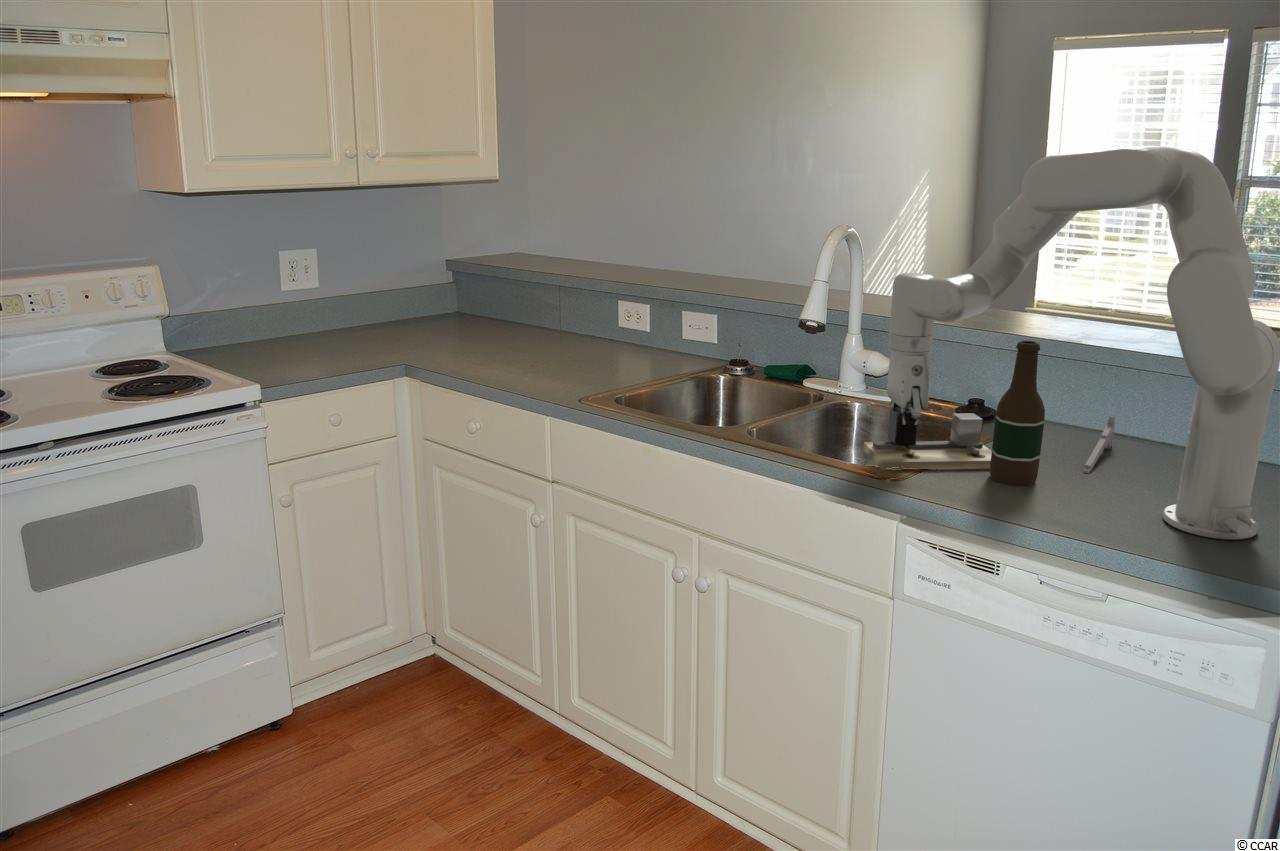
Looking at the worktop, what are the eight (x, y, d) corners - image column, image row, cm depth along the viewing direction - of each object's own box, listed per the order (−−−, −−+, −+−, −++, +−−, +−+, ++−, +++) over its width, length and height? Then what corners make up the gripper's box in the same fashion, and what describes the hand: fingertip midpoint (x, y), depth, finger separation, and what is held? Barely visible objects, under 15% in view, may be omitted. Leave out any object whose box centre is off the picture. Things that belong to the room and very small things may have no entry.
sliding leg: (923, 455, 179) (926, 418, 177) (901, 455, 178) (904, 419, 176) (908, 442, 186) (911, 407, 184) (887, 442, 186) (890, 407, 184)
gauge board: (1003, 468, 178) (1008, 429, 176) (882, 470, 176) (885, 430, 174) (977, 448, 189) (981, 411, 187) (863, 449, 188) (865, 412, 186)
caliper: (1105, 446, 192) (1110, 415, 191) (1111, 447, 192) (1116, 415, 190) (1082, 473, 176) (1087, 439, 174) (1088, 475, 176) (1093, 440, 174)
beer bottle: (992, 469, 177) (1007, 336, 171) (1038, 476, 174) (1056, 340, 167) (985, 482, 170) (1001, 344, 164) (1034, 489, 167) (1052, 348, 161)
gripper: (947, 352, 171) (937, 454, 176) (914, 334, 187) (906, 428, 192) (904, 353, 171) (896, 455, 176) (875, 334, 187) (868, 428, 192)
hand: (901, 440), depth 184 cm, fingers closed on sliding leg, 4 cm apart
